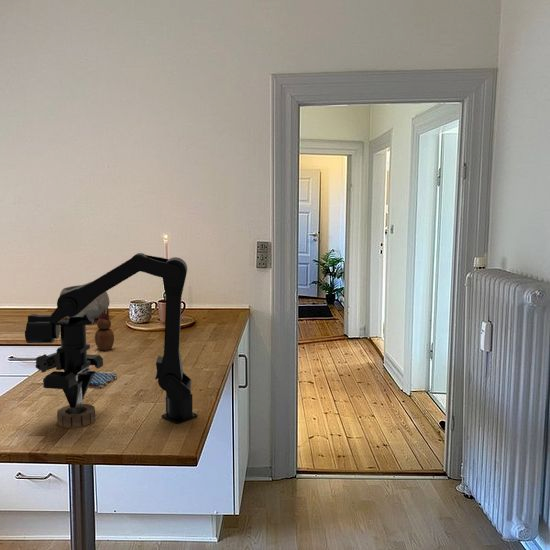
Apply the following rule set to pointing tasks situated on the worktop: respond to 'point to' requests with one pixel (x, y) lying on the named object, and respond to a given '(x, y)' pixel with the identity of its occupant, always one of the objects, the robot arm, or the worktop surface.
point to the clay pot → (92, 305)
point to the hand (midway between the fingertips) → (76, 404)
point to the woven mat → (102, 379)
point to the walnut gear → (76, 417)
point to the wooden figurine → (104, 332)
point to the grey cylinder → (78, 405)
